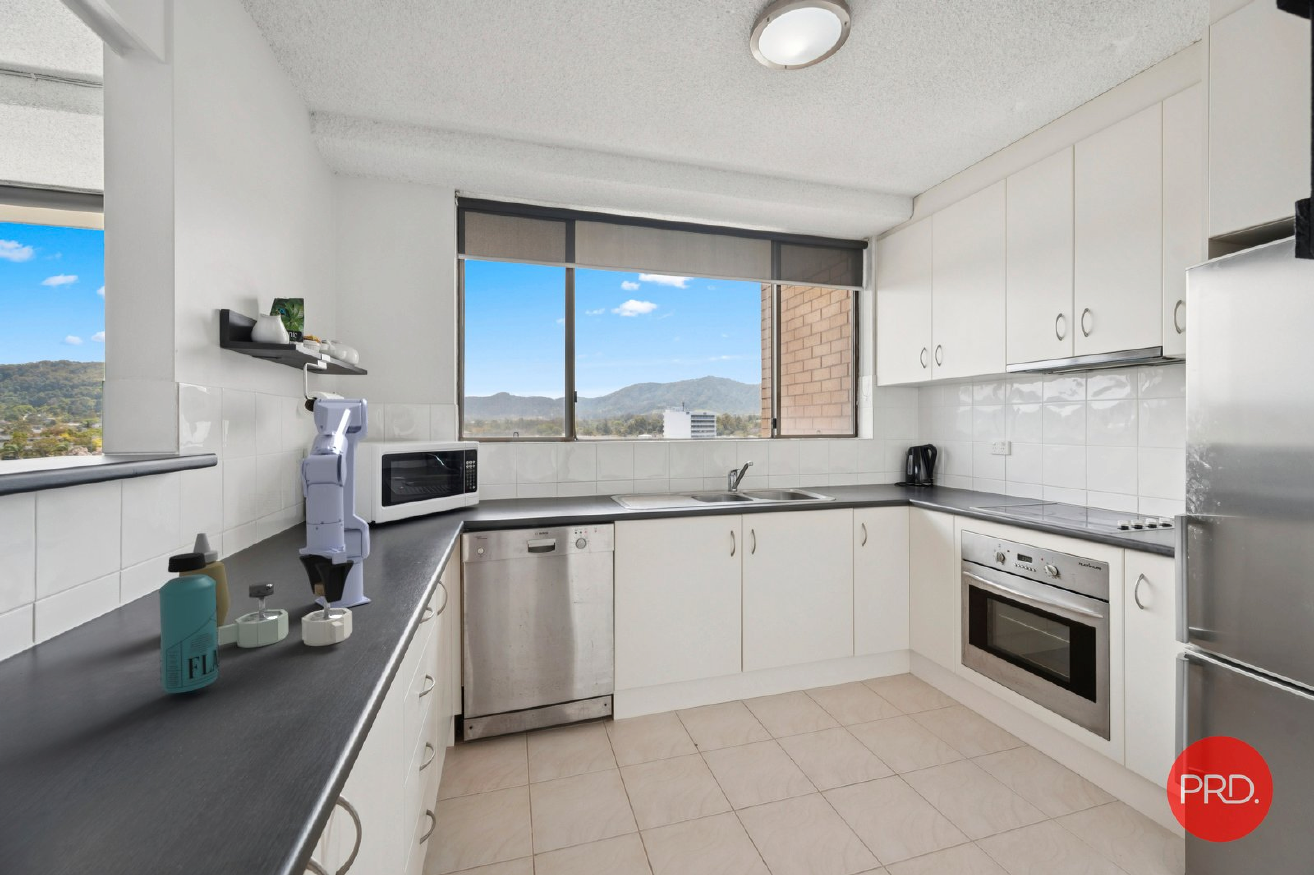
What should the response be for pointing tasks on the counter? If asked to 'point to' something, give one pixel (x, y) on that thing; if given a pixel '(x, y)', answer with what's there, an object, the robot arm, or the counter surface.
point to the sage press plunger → (261, 600)
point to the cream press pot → (326, 628)
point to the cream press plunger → (327, 614)
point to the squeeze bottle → (213, 576)
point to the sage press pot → (255, 630)
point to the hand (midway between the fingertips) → (326, 597)
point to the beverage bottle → (188, 627)
